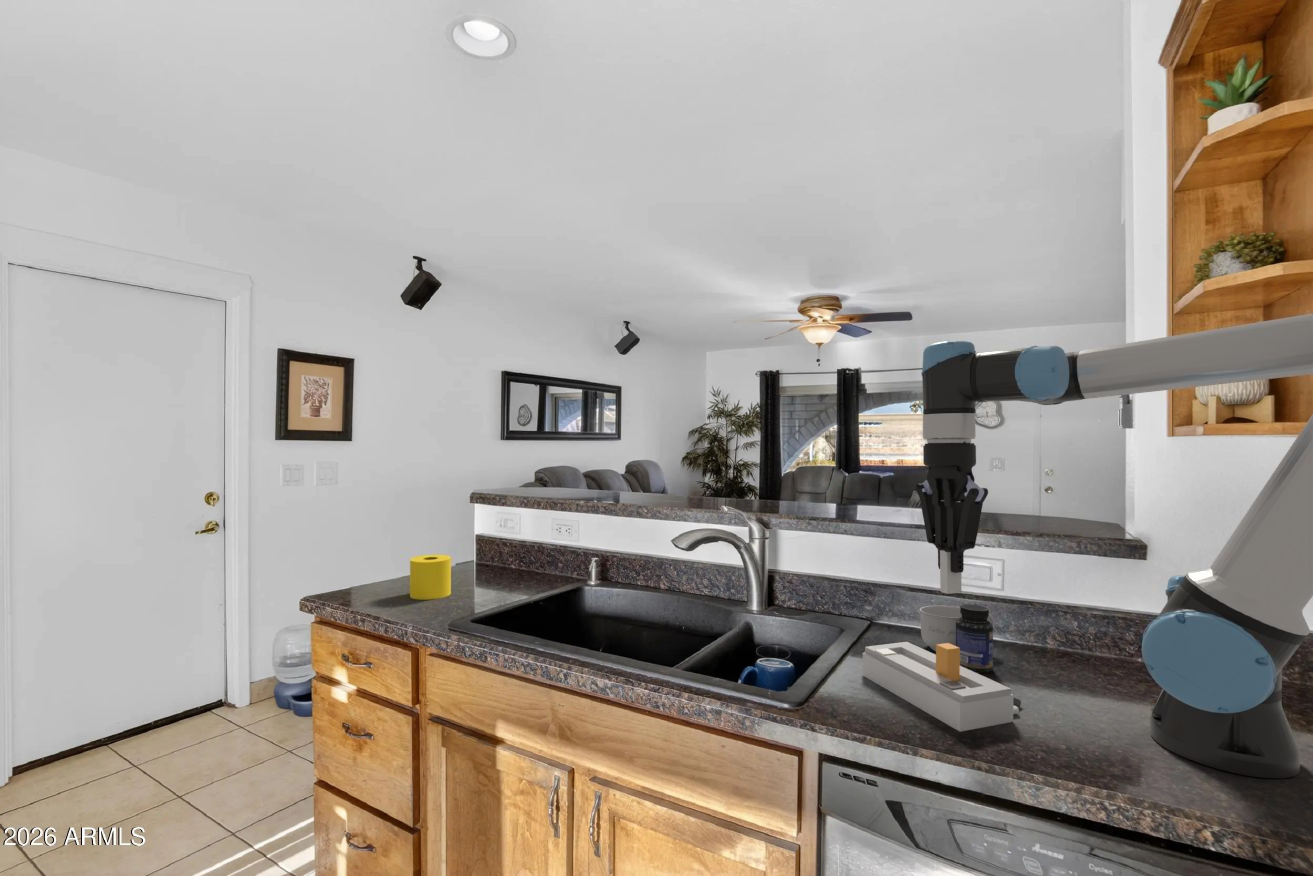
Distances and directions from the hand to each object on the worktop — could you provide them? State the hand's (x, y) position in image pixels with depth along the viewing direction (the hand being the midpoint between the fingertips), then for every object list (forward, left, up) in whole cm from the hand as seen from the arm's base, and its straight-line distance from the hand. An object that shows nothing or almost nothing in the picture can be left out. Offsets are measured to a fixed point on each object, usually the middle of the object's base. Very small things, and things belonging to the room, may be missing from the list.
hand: (950, 592), depth 98 cm
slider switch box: (+4, 0, -18) cm, 18 cm away
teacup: (+20, -21, -18) cm, 34 cm away
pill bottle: (+12, -17, -18) cm, 27 cm away
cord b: (+5, -9, -18) cm, 20 cm away
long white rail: (+4, -6, -18) cm, 19 cm away
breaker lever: (0, 0, -14) cm, 14 cm away
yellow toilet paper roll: (+96, +78, -18) cm, 125 cm away
